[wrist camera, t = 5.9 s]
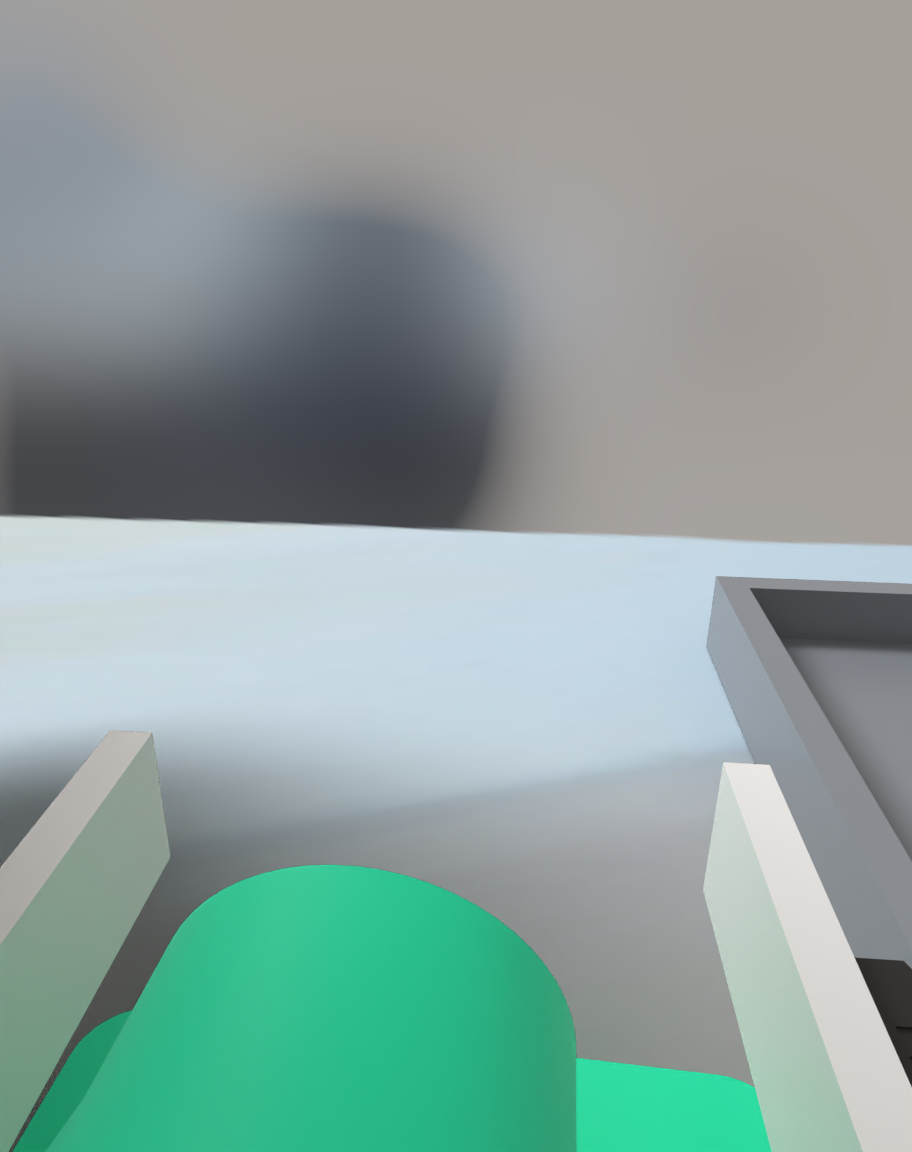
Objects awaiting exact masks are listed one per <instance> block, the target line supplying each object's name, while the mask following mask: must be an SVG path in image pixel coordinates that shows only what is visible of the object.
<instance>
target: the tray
mask: <svg viewBox="0 0 912 1152" xmlns="http://www.w3.org/2000/svg"><path fill="white" fill-rule="evenodd" d="M706 647H707V649H708V652H709V654H710V656H711V659H712V661H713V664H714V666H715V668H716V671H717V673H718V676H719V678H720V680H721V683H722V685H723V688H724V690H725V692H726V695H727V697H728V700H729V702H730V704H731V707H732V709H733V712H734V714H735V716H736V719H737V721H738V724H739V726H740V728H741V731H742V733H743V736H744V738H745V741H746V743H747V745H748V748H749V750H750V753H751V755H752V757H753V760H754V762H755V764H762V765H770V767H771V769H772V771H773V774H774V776H775V778H776V781H777V783H778V785H779V787H780V790H781V792H782V794H783V796H784V799H785V801H786V803H787V806H788V808H789V810H790V812H791V815H792V817H793V819H794V821H795V824H796V826H797V828H798V830H799V833H800V835H801V837H802V840H803V842H804V844H805V846H806V849H807V851H808V853H809V855H810V858H811V860H812V862H813V865H814V867H815V869H816V871H817V874H818V876H819V878H820V880H821V883H822V885H823V887H824V889H825V892H826V894H827V896H828V899H829V901H830V903H831V905H832V908H833V910H834V912H835V914H836V917H837V919H838V921H839V924H840V926H841V928H842V930H843V933H844V935H845V937H846V939H847V942H848V944H849V946H850V948H851V951H852V953H853V955H854V957H855V958H870V959H885V960H900V961H904V962H905V963H906V964H907V965H908V966H909V967H910V968H911V969H912V584H901V583H876V582H850V581H824V580H798V579H773V578H747V577H721V576H716V582H715V589H714V596H713V603H712V610H711V617H710V624H709V632H708V639H707V646H706Z"/></svg>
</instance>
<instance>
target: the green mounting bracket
mask: <svg viewBox="0 0 912 1152" xmlns="http://www.w3.org/2000/svg"><path fill="white" fill-rule="evenodd" d="M13 1152H772V1151H771V1147H770V1143H769V1140H768V1136H767V1132H766V1128H765V1124H764V1120H763V1117H762V1113H761V1109H760V1105H759V1101H758V1098H757V1094H756V1090H755V1088H754V1087H752V1086H750V1085H749V1084H747V1083H744V1082H742V1081H740V1080H737V1079H734V1078H731V1077H727V1076H722V1075H714V1074H706V1073H698V1072H689V1071H681V1070H673V1069H664V1068H656V1067H648V1066H639V1065H631V1064H623V1063H614V1062H606V1061H598V1060H589V1059H581V1058H576V1037H575V1030H574V1025H573V1020H572V1016H571V1013H570V1010H569V1007H568V1005H567V1002H566V999H565V997H564V995H563V993H562V991H561V989H560V987H559V985H558V983H557V982H556V980H555V978H554V977H553V975H552V974H551V973H550V971H549V970H548V968H547V967H546V965H545V964H544V963H543V961H542V960H541V959H540V958H539V957H538V956H537V954H536V953H535V952H534V951H533V950H532V949H531V947H530V946H528V945H527V944H526V943H525V942H524V941H523V940H522V939H521V938H520V937H519V936H518V935H517V934H516V933H515V932H514V931H512V930H511V929H510V928H508V927H507V926H506V925H505V924H503V923H502V922H501V921H499V920H498V919H497V918H496V917H494V916H493V915H491V914H489V913H488V912H486V911H485V910H483V909H482V908H480V907H478V906H477V905H475V904H473V903H472V902H470V901H468V900H466V899H464V898H462V897H460V896H458V895H456V894H454V893H452V892H450V891H447V890H445V889H443V888H440V887H438V886H435V885H433V884H430V883H428V882H425V881H421V880H418V879H415V878H412V877H409V876H406V875H402V874H397V873H393V872H389V871H384V870H380V869H373V868H366V867H359V866H346V865H306V866H299V867H291V868H283V869H279V870H275V871H270V872H266V873H262V874H259V875H256V876H253V877H250V878H247V879H244V880H241V881H239V882H237V883H235V884H233V885H231V886H229V887H227V888H225V889H223V890H221V891H220V892H218V893H217V894H215V895H213V896H212V897H210V898H209V899H207V900H206V901H205V902H204V903H202V904H201V905H200V906H199V907H198V908H196V909H195V910H194V911H193V912H192V913H191V914H190V915H189V916H188V918H187V919H186V920H185V921H184V922H183V923H182V924H181V926H180V927H179V929H178V930H177V932H176V933H175V935H174V936H173V938H172V940H171V941H170V943H169V945H168V947H167V949H166V950H165V952H164V954H163V956H162V958H161V960H160V961H159V963H158V965H157V967H156V969H155V970H154V972H153V974H152V976H151V978H150V979H149V981H148V983H147V985H146V987H145V988H144V990H143V992H142V994H141V996H140V997H139V999H138V1001H137V1003H136V1005H135V1006H134V1008H133V1010H130V1011H127V1012H124V1013H121V1014H119V1015H116V1016H114V1017H112V1018H110V1019H108V1020H106V1021H105V1022H103V1023H101V1024H100V1025H98V1026H97V1027H96V1028H94V1029H93V1030H92V1031H91V1032H89V1033H88V1034H87V1035H86V1036H85V1037H84V1038H83V1039H82V1040H81V1041H80V1042H79V1044H78V1045H77V1046H76V1047H75V1049H74V1050H73V1052H72V1053H71V1055H70V1056H69V1058H68V1060H67V1061H66V1063H65V1065H64V1066H63V1068H62V1070H61V1071H60V1073H59V1075H58V1076H57V1078H56V1080H55V1081H54V1083H53V1085H52V1086H51V1088H50V1090H49V1091H48V1093H47V1095H46V1097H45V1098H44V1100H43V1102H42V1103H41V1105H40V1107H39V1108H38V1110H37V1112H36V1113H35V1115H34V1117H33V1118H32V1120H31V1122H30V1123H29V1125H28V1127H27V1128H26V1130H25V1132H24V1133H23V1135H22V1137H21V1138H20V1140H19V1142H18V1143H17V1145H16V1147H15V1148H14V1150H13Z"/></svg>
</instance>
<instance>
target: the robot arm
mask: <svg viewBox="0 0 912 1152" xmlns="http://www.w3.org/2000/svg"><path fill="white" fill-rule="evenodd" d="M170 857H171V856H170V850H169V843H168V836H167V829H166V822H165V816H164V809H163V802H162V795H161V789H160V782H159V775H158V768H157V761H156V755H155V748H154V741H153V734H152V732H133V731H113V730H110V731H109V732H108V733H107V735H106V736H105V737H104V738H103V740H102V741H101V742H100V743H99V745H98V746H97V747H96V748H95V750H94V751H93V752H92V753H91V755H90V756H89V757H88V758H87V760H86V761H85V762H84V763H83V765H82V766H81V767H80V768H79V770H78V771H77V772H76V773H75V775H74V776H73V777H72V778H71V780H70V781H69V782H68V783H67V785H66V786H65V787H64V788H63V790H62V791H61V792H60V793H59V795H58V796H57V797H56V798H55V800H54V801H53V802H52V803H51V805H50V806H49V807H48V808H47V810H46V811H45V812H44V813H43V815H42V816H41V817H40V818H39V820H38V821H37V822H36V823H35V825H34V826H33V827H32V828H31V830H30V831H29V832H28V833H27V835H26V836H25V837H24V838H23V840H22V841H21V842H20V843H19V845H18V846H17V847H16V848H15V850H14V851H13V852H12V853H11V855H10V856H9V857H8V858H7V860H6V861H5V862H4V863H3V865H2V866H1V867H0V1152H9V1150H10V1148H11V1146H12V1145H13V1143H14V1141H15V1139H16V1137H17V1136H18V1134H19V1132H20V1130H21V1128H22V1126H23V1125H24V1123H25V1121H26V1119H27V1117H28V1115H29V1114H30V1112H31V1110H32V1108H33V1106H34V1105H35V1103H36V1101H37V1099H38V1097H39V1095H40V1094H41V1092H42V1090H43V1088H44V1086H45V1085H46V1083H47V1081H48V1079H49V1077H50V1075H51V1074H52V1072H53V1070H54V1068H55V1066H56V1065H57V1063H58V1061H59V1059H60V1057H61V1055H62V1054H63V1052H64V1050H65V1048H66V1046H67V1045H68V1043H69V1041H70V1039H71V1037H72V1035H73V1034H74V1032H75V1030H76V1028H77V1026H78V1025H79V1023H80V1021H81V1019H82V1017H83V1015H84V1014H85V1012H86V1010H87V1008H88V1006H89V1004H90V1003H91V1001H92V999H93V997H94V995H95V994H96V992H97V990H98V988H99V986H100V984H101V983H102V981H103V979H104V977H105V975H106V974H107V972H108V970H109V968H110V966H111V964H112V963H113V961H114V959H115V957H116V955H117V954H118V952H119V950H120V948H121V946H122V944H123V943H124V941H125V939H126V937H127V935H128V934H129V932H130V930H131V928H132V926H133V924H134V923H135V921H136V919H137V917H138V915H139V914H140V912H141V910H142V908H143V906H144V904H145V903H146V901H147V899H148V897H149V895H150V893H151V892H152V890H153V888H154V886H155V884H156V883H157V881H158V879H159V877H160V875H161V873H162V872H163V870H164V868H165V866H166V864H167V863H168V861H169V859H170ZM703 891H704V895H705V899H706V903H707V906H708V910H709V914H710V918H711V922H712V926H713V929H714V933H715V937H716V941H717V945H718V949H719V952H720V956H721V960H722V964H723V968H724V971H725V975H726V979H727V983H728V987H729V991H730V994H731V998H732V1002H733V1006H734V1010H735V1013H736V1017H737V1021H738V1025H739V1029H740V1033H741V1036H742V1040H743V1044H744V1048H745V1052H746V1056H747V1059H748V1063H749V1067H750V1071H751V1075H752V1078H753V1082H754V1086H755V1090H756V1094H757V1098H758V1101H759V1105H760V1109H761V1113H762V1117H763V1120H764V1124H765V1128H766V1132H767V1136H768V1140H769V1143H770V1147H771V1151H772V1152H912V969H911V968H910V967H909V966H908V965H907V964H906V963H905V962H904V961H900V960H885V959H870V958H855V957H854V955H853V953H852V951H851V948H850V946H849V944H848V942H847V939H846V937H845V935H844V933H843V930H842V928H841V926H840V924H839V921H838V919H837V917H836V914H835V912H834V910H833V908H832V905H831V903H830V901H829V899H828V896H827V894H826V892H825V889H824V887H823V885H822V883H821V880H820V878H819V876H818V874H817V871H816V869H815V867H814V865H813V862H812V860H811V858H810V855H809V853H808V851H807V849H806V846H805V844H804V842H803V840H802V837H801V835H800V833H799V830H798V828H797V826H796V824H795V821H794V819H793V817H792V815H791V812H790V810H789V808H788V806H787V803H786V801H785V799H784V796H783V794H782V792H781V790H780V787H779V785H778V783H777V781H776V778H775V776H774V774H773V771H772V769H771V767H770V765H762V764H743V763H724V762H723V767H722V774H721V780H720V786H719V793H718V799H717V805H716V812H715V818H714V824H713V831H712V837H711V843H710V850H709V856H708V862H707V869H706V875H705V881H704V888H703Z"/></svg>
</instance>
